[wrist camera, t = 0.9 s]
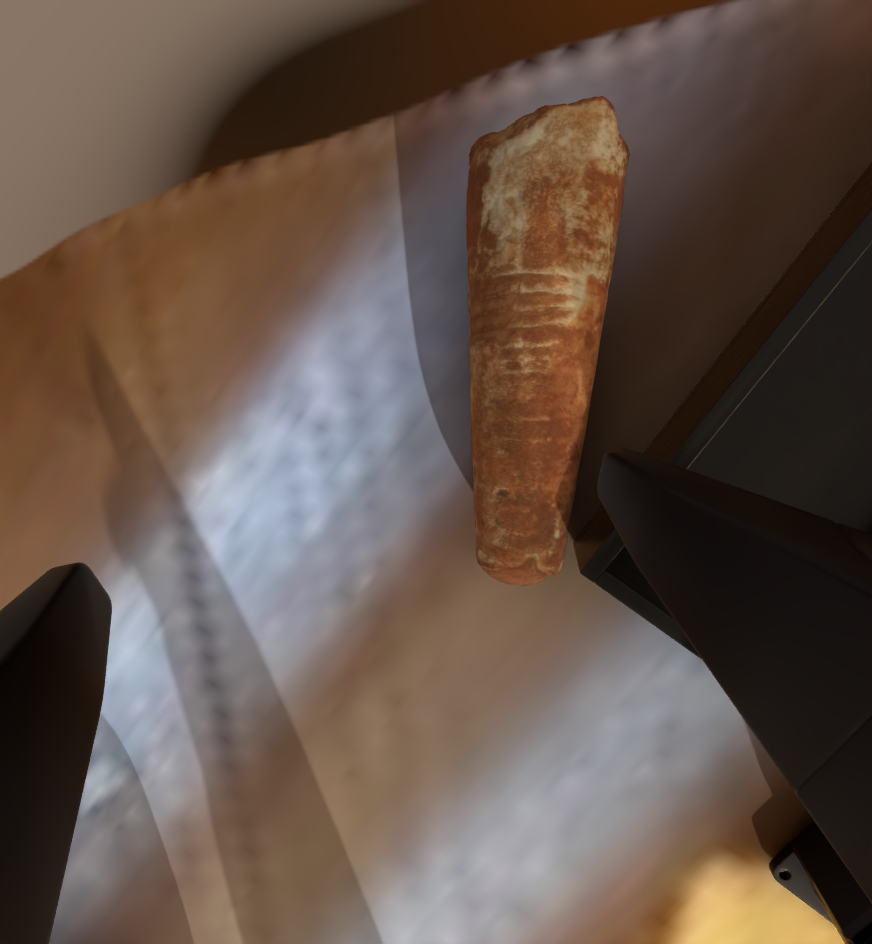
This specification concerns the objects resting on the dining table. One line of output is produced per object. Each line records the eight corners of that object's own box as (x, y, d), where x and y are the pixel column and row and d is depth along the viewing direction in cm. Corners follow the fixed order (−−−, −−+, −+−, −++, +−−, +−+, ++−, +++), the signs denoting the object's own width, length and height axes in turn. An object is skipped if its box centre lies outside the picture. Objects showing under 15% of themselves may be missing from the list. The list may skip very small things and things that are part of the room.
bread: (620, 167, 21) (647, 82, 16) (569, 577, 24) (578, 625, 18) (479, 171, 22) (460, 92, 17) (446, 559, 25) (420, 598, 20)
